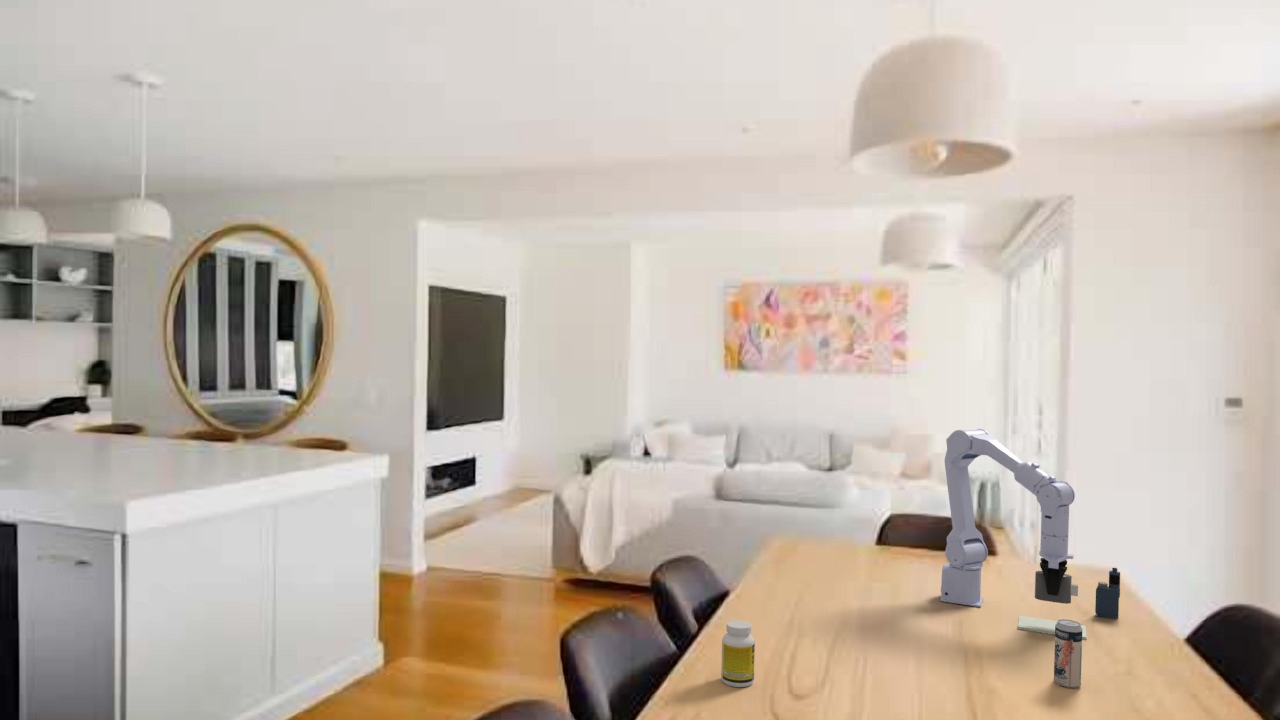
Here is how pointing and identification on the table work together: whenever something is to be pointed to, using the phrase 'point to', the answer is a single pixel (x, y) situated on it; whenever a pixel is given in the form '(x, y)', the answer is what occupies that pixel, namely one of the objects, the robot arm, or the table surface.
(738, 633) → the pill bottle
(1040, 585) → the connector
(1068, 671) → the beer can
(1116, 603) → the vaping device
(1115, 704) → the table surface
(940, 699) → the table surface
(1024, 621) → the board
